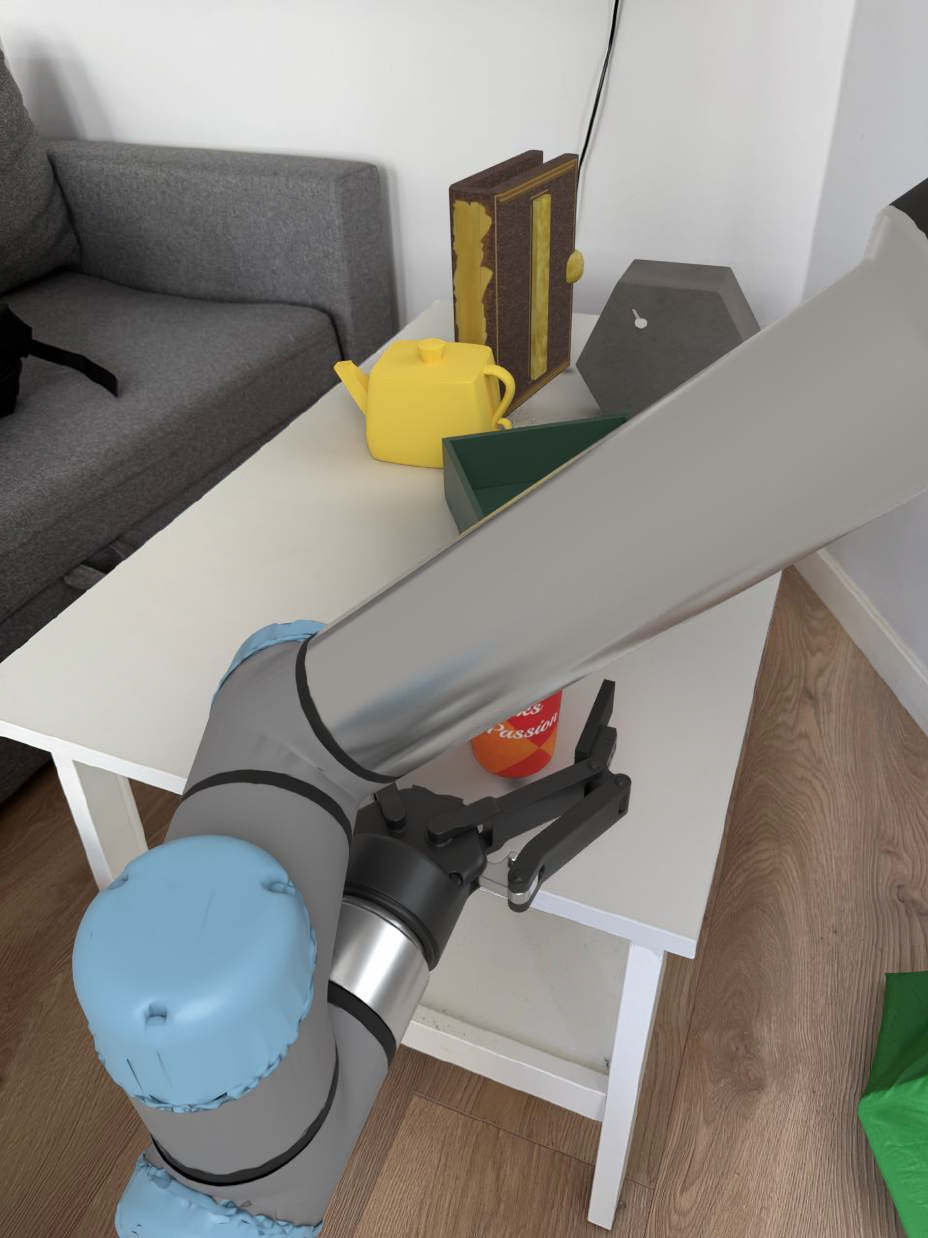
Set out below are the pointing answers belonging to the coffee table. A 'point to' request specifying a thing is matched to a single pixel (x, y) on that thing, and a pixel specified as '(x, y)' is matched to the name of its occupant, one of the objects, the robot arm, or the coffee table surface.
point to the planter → (662, 332)
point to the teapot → (427, 398)
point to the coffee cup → (520, 740)
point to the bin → (511, 462)
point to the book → (517, 265)
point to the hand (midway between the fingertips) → (509, 671)
